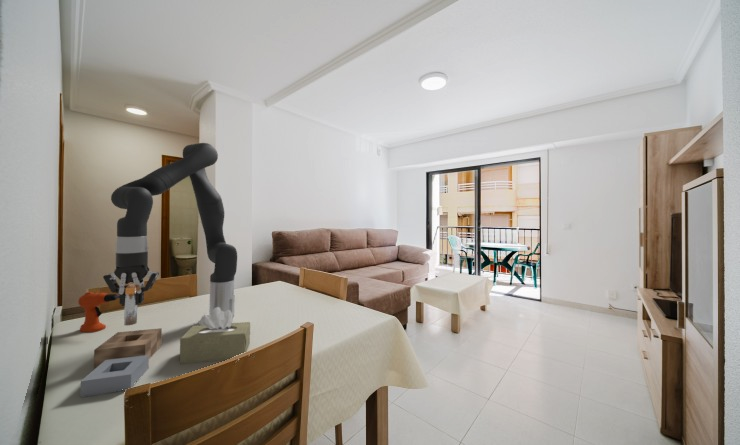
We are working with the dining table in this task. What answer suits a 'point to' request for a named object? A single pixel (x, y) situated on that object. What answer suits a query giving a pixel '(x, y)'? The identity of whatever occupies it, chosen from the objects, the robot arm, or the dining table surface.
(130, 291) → the bar
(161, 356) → the dining table surface
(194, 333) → the tissue box
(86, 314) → the toy drill
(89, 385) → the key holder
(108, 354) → the block
